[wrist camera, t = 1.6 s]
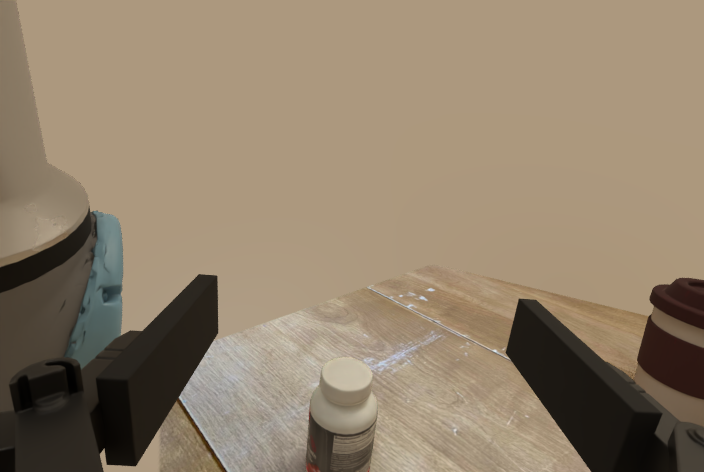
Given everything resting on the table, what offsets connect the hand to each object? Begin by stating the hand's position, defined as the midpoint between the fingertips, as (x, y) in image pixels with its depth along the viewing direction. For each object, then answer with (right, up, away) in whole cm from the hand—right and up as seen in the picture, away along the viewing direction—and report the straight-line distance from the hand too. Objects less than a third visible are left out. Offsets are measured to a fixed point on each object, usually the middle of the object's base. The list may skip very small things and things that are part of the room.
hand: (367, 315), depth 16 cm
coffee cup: (+36, -17, +27) cm, 48 cm away
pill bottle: (-2, -17, +15) cm, 22 cm away
